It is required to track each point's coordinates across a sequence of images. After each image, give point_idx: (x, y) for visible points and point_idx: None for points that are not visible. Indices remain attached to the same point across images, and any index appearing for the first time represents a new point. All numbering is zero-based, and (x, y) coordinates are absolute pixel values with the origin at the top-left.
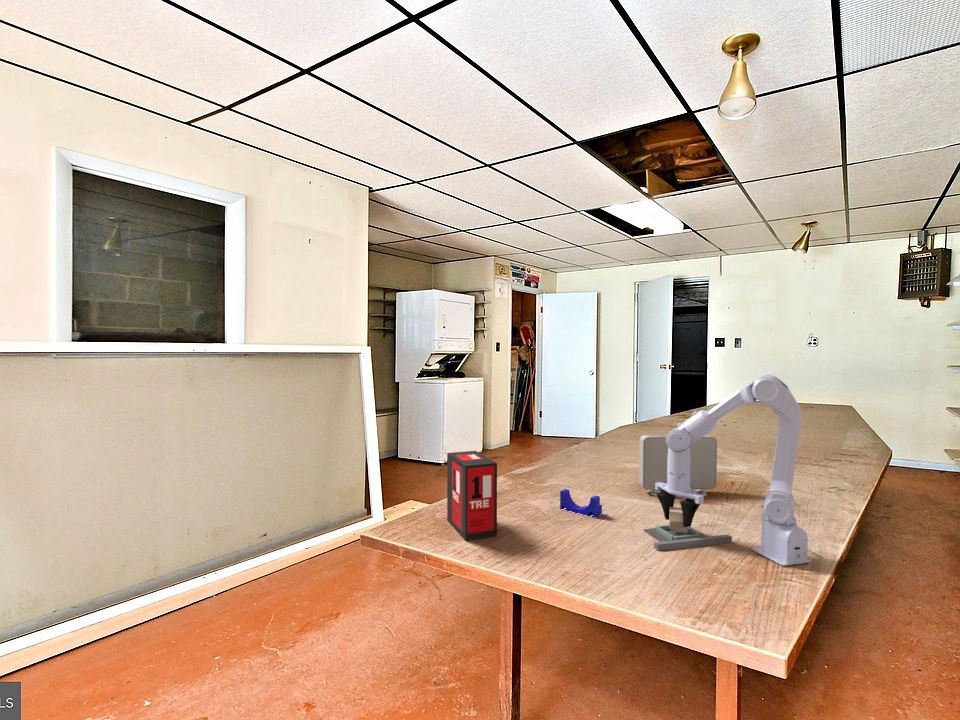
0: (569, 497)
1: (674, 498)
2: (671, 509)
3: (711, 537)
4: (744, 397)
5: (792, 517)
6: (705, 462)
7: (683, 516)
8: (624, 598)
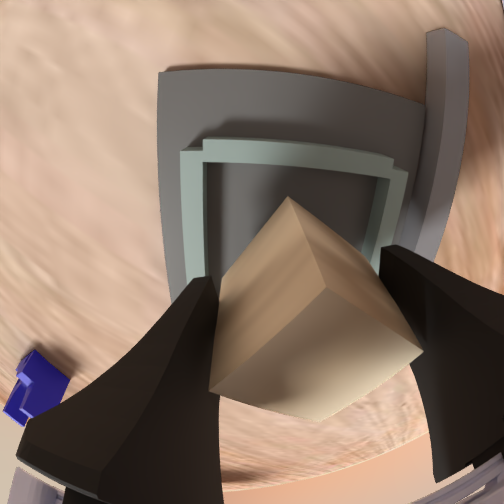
0: (16, 401)
1: (149, 419)
2: (290, 407)
3: (451, 148)
4: None
5: None
6: None
7: (413, 360)
8: (421, 430)
